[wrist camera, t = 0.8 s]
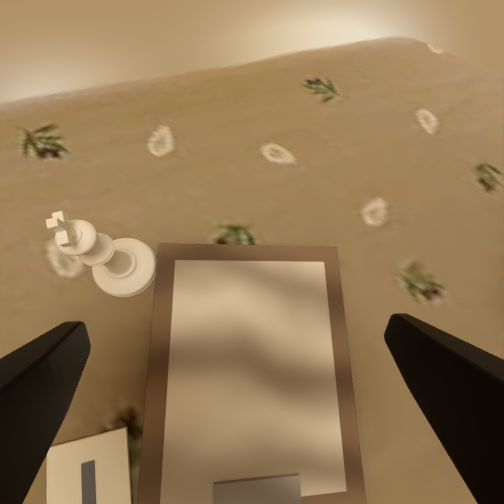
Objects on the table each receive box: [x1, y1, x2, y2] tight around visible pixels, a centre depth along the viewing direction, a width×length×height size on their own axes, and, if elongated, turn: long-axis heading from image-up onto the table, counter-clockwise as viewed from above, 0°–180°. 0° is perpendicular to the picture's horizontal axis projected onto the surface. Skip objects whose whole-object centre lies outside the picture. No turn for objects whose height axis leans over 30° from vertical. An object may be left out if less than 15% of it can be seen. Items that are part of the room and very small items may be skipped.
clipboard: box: [137, 243, 366, 504], centre depth 20 cm, size 20×16×1 cm
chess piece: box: [46, 211, 157, 297], centre depth 16 cm, size 5×5×10 cm
